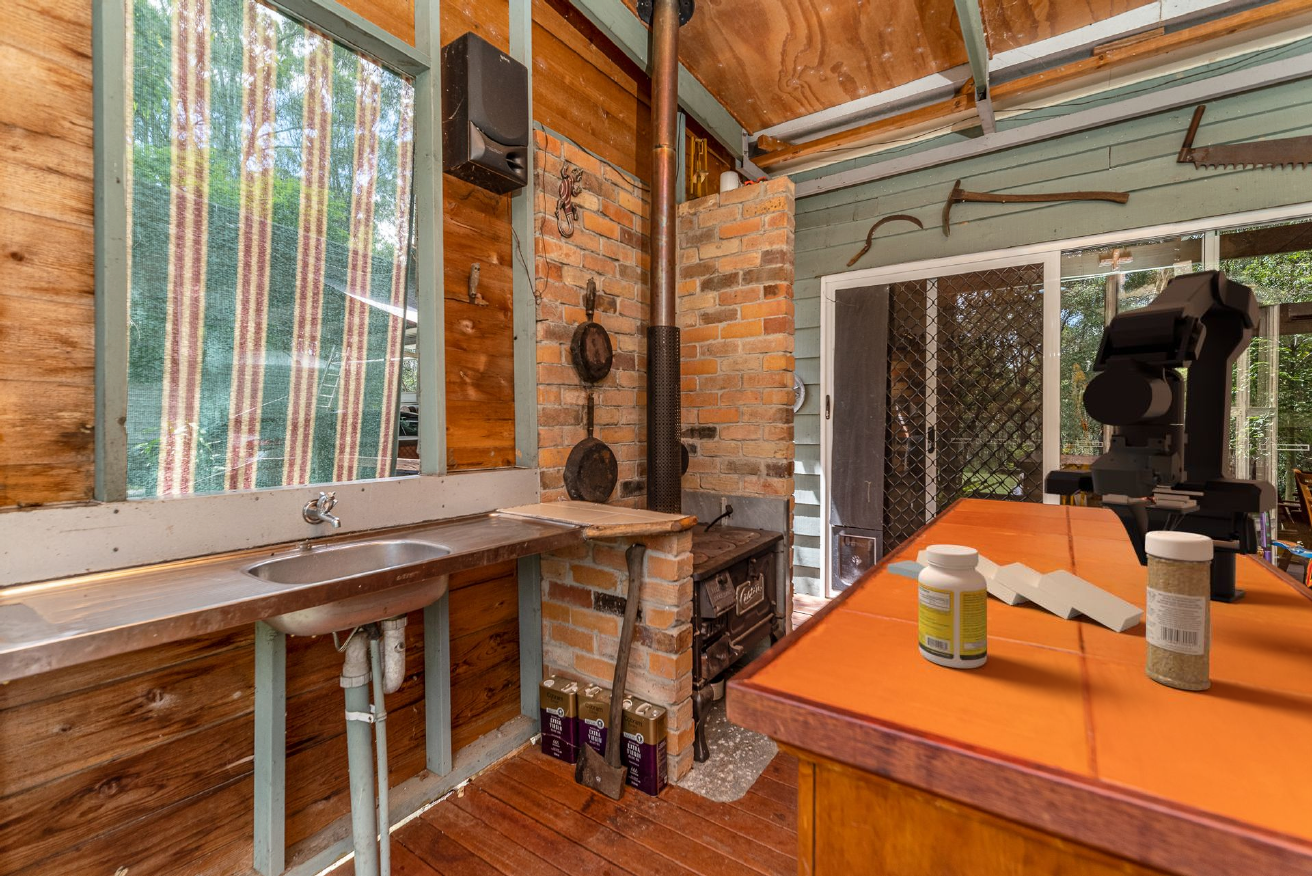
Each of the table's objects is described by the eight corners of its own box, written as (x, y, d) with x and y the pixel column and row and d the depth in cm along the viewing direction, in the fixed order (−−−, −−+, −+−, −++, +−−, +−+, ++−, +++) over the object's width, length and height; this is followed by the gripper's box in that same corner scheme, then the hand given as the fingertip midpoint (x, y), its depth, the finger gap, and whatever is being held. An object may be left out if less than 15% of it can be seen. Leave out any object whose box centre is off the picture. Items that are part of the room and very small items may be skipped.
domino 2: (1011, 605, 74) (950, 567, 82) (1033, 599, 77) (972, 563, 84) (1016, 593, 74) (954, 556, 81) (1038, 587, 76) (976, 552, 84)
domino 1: (940, 590, 83) (887, 576, 91) (962, 584, 85) (908, 571, 93) (940, 577, 83) (887, 564, 91) (962, 572, 85) (908, 560, 93)
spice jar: (1217, 683, 52) (1220, 535, 52) (1201, 697, 50) (1204, 541, 49) (1153, 666, 56) (1155, 527, 56) (1135, 678, 54) (1137, 533, 53)
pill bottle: (980, 649, 61) (980, 544, 60) (993, 674, 55) (994, 558, 55) (915, 642, 63) (915, 540, 62) (921, 665, 57) (921, 553, 57)
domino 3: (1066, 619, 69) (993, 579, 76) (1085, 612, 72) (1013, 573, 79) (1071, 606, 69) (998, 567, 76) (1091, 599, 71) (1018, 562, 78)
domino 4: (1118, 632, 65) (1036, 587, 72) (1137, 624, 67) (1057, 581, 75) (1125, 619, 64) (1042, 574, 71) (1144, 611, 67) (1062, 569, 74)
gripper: (1020, 425, 68) (1019, 558, 68) (1241, 426, 52) (1238, 600, 52) (1067, 424, 73) (1066, 547, 74) (1279, 424, 57) (1276, 581, 58)
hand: (1147, 565), depth 64 cm, fingers closed
